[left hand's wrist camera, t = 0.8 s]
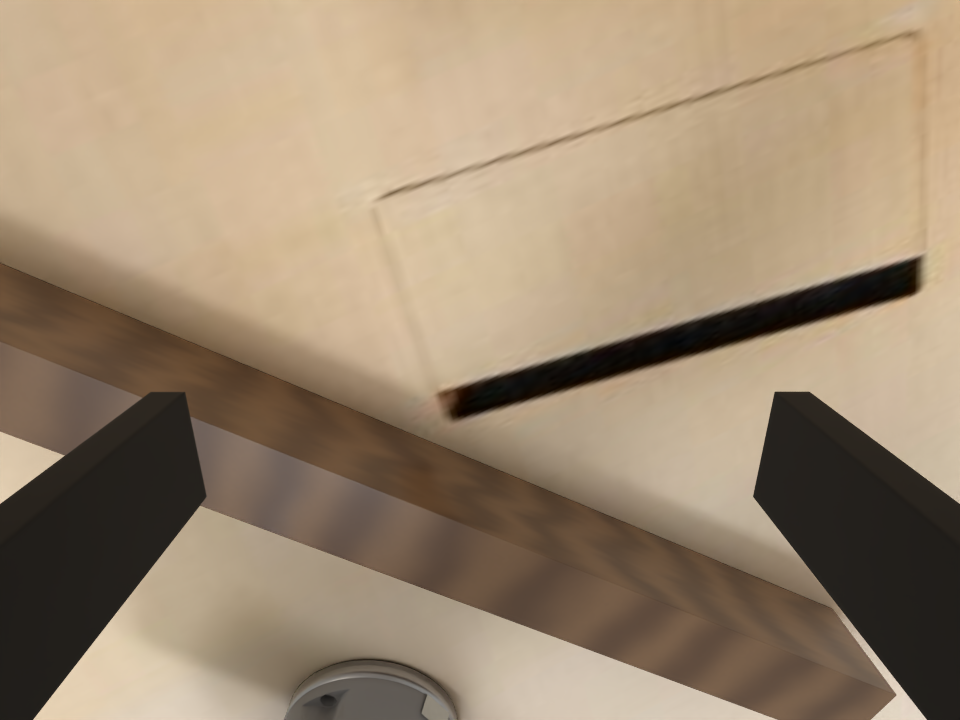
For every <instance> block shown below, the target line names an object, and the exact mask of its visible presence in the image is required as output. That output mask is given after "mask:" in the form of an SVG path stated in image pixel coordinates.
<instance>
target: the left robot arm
mask: <svg viewBox="0 0 960 720" xmlns="http://www.w3.org/2000/svg"><path fill="white" fill-rule="evenodd" d="M206 497H207V495H206V490H205V485H204V481H203V476H202V471H201V466H200V461H199V456H198V452H197V447H196V442H195V437H194V432H193V427H192V423H191V418H190V413H189V408H188V403H187V398H186V394H185V392H150V393H148V394H147V395H146V396H144V397H143V398H142V399H140V400H139V401H138V402H136V403H135V404H134V405H132V406H131V407H130V408H128V409H127V410H126V411H124V412H123V413H122V414H120V415H119V416H118V417H116V418H115V419H114V420H112V421H111V422H110V423H108V424H107V425H106V426H104V427H103V428H102V429H100V430H99V431H98V432H96V433H95V434H94V435H92V436H91V437H89V438H88V439H87V440H85V441H84V442H83V443H81V444H80V445H79V446H77V447H76V448H75V449H73V450H72V451H71V452H69V453H68V454H67V455H65V456H64V457H63V458H61V459H60V460H59V461H57V462H56V463H55V464H53V465H52V466H51V467H49V468H48V469H47V470H45V471H44V472H43V473H41V474H40V475H39V476H37V477H36V478H35V479H33V480H32V481H31V482H29V483H28V484H26V485H25V486H24V487H22V488H21V489H20V490H18V491H17V492H16V493H14V494H13V495H12V496H10V497H9V498H8V499H6V500H5V501H4V502H2V503H1V504H0V720H33V719H34V718H35V716H36V715H37V714H38V713H39V711H40V710H41V709H42V707H43V706H44V705H45V704H46V702H47V701H48V700H49V698H50V697H51V696H52V695H53V693H54V692H55V691H56V690H57V688H58V687H59V686H60V684H61V683H62V682H63V681H64V679H65V678H66V677H67V675H68V674H69V673H70V672H71V670H72V669H73V668H74V666H75V665H76V664H77V663H78V661H79V660H80V659H81V657H82V656H83V655H84V654H85V652H86V651H87V650H88V648H89V647H90V646H91V645H92V643H93V642H94V641H95V639H96V638H97V637H98V636H99V634H100V633H101V632H102V630H103V629H104V628H105V627H106V625H107V624H108V623H109V622H110V620H111V619H112V618H113V616H114V615H115V614H116V613H117V611H118V610H119V609H120V607H121V606H122V605H123V604H124V602H125V601H126V600H127V598H128V597H129V596H130V595H131V593H132V592H133V591H134V589H135V588H136V587H137V586H138V584H139V583H140V582H141V580H142V579H143V578H144V577H145V575H146V574H147V573H148V571H149V570H150V569H151V568H152V566H153V565H154V564H155V562H156V561H157V560H158V559H159V557H160V556H161V555H162V554H163V552H164V551H165V550H166V548H167V547H168V546H169V545H170V543H171V542H172V541H173V539H174V538H175V537H176V536H177V534H178V533H179V532H180V530H181V529H182V528H183V527H184V525H185V524H186V523H187V521H188V520H189V519H190V518H191V516H192V515H193V514H194V512H195V511H196V510H197V509H198V507H199V506H200V505H201V503H202V502H203V501H204V500H205V498H206ZM753 497H754V498H755V500H756V501H757V502H758V503H759V505H760V506H761V507H762V509H763V510H764V511H765V512H766V514H767V515H768V516H769V518H770V519H771V520H772V521H773V523H774V524H775V525H776V527H777V528H778V529H779V530H780V532H781V533H782V534H783V536H784V537H785V538H786V539H787V541H788V542H789V543H790V545H791V546H792V547H793V548H794V550H795V551H796V552H797V554H798V555H799V556H800V557H801V559H802V560H803V561H804V562H805V564H806V565H807V566H808V568H809V569H810V570H811V571H812V573H813V574H814V575H815V577H816V578H817V579H818V580H819V582H820V583H821V584H822V586H823V587H824V588H825V589H826V591H827V592H828V593H829V595H830V596H831V597H832V598H833V600H834V601H835V602H836V604H837V605H838V606H839V607H840V609H841V610H842V611H843V613H844V614H845V615H846V616H847V618H848V619H849V620H850V622H851V623H852V624H853V625H854V627H855V628H856V629H857V630H858V632H859V633H860V634H861V636H862V637H863V638H864V639H865V641H866V642H867V643H868V645H869V646H870V647H871V648H872V650H873V651H874V652H875V654H876V655H877V656H878V657H879V659H880V660H881V661H882V663H883V664H884V665H885V666H886V668H887V669H888V670H889V672H890V673H891V674H892V675H893V677H894V678H895V679H896V681H897V682H898V683H899V684H900V686H901V687H902V688H903V690H904V691H905V692H906V693H907V695H908V696H909V697H910V698H911V700H912V701H913V702H914V704H915V705H916V706H917V707H918V709H919V710H920V711H921V713H922V714H923V715H924V716H925V718H926V719H927V720H960V504H959V503H958V502H956V501H955V500H954V499H952V498H951V497H950V496H948V495H947V494H946V493H944V492H943V491H942V490H940V489H939V488H938V487H936V486H935V485H934V484H932V483H931V482H929V481H928V480H927V479H925V478H924V477H923V476H921V475H920V474H919V473H917V472H916V471H915V470H913V469H912V468H911V467H909V466H908V465H907V464H905V463H904V462H903V461H901V460H900V459H899V458H897V457H896V456H895V455H893V454H892V453H891V452H889V451H888V450H887V449H885V448H884V447H883V446H881V445H880V444H879V443H877V442H876V441H875V440H873V439H872V438H871V437H869V436H868V435H866V434H865V433H864V432H862V431H861V430H860V429H858V428H857V427H856V426H854V425H853V424H852V423H850V422H849V421H848V420H846V419H845V418H844V417H842V416H841V415H840V414H838V413H837V412H836V411H834V410H833V409H832V408H830V407H829V406H828V405H826V404H825V403H824V402H822V401H821V400H820V399H818V398H817V397H816V396H814V395H813V394H812V393H810V392H775V394H774V398H773V403H772V408H771V413H770V418H769V423H768V427H767V432H766V437H765V442H764V447H763V452H762V456H761V461H760V466H759V471H758V476H757V481H756V485H755V490H754V495H753ZM284 720H457V714H456V710H455V707H454V705H453V703H452V701H451V700H450V698H449V696H448V695H447V694H446V693H445V691H444V690H443V689H442V688H441V687H440V686H439V685H438V684H436V683H435V682H434V681H433V680H431V679H430V678H428V677H427V676H425V675H423V674H421V673H420V672H417V671H415V670H413V669H411V668H408V667H405V666H402V665H399V664H395V663H390V662H384V661H375V660H358V661H349V662H343V663H339V664H335V665H332V666H329V667H327V668H324V669H322V670H320V671H318V672H316V673H314V674H313V675H311V676H310V677H309V678H307V679H306V680H305V681H304V682H303V683H302V684H301V685H300V686H299V687H298V689H297V690H296V691H295V693H294V695H293V697H292V699H291V702H290V705H289V707H288V710H287V713H286V716H285V719H284Z"/></svg>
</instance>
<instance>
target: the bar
mask: <svg viewBox="0 0 960 720" xmlns="http://www.w3.org/2000/svg"><path fill="white" fill-rule="evenodd" d="M150 392H185V394H186V398H187V403H188V408H189V413H190V418H191V423H192V427H193V432H194V437H195V442H196V447H197V452H198V456H199V461H200V466H201V471H202V476H203V481H204V485H205V490H206V495H207V497H206V498H205V500H204V501H203V502H202V503H201V505H200V506H203V507H205V508H208V509H211V510H214V511H216V512H219V513H222V514H224V515H227V516H230V517H232V518H235V519H238V520H241V521H243V522H246V523H249V524H251V525H254V526H257V527H259V528H262V529H265V530H268V531H270V532H273V533H276V534H278V535H281V536H284V537H286V538H289V539H292V540H295V541H297V542H300V543H303V544H305V545H308V546H311V547H313V548H316V549H319V550H321V551H324V552H327V553H330V554H332V555H335V556H338V557H340V558H343V559H346V560H348V561H351V562H354V563H357V564H359V565H362V566H365V567H367V568H370V569H373V570H375V571H378V572H381V573H384V574H386V575H389V576H392V577H394V578H397V579H400V580H402V581H405V582H408V583H410V584H413V585H416V586H419V587H421V588H424V589H427V590H429V591H432V592H435V593H437V594H440V595H443V596H446V597H448V598H451V599H454V600H456V601H459V602H462V603H464V604H467V605H470V606H473V607H475V608H478V609H481V610H483V611H486V612H489V613H491V614H494V615H497V616H500V617H502V618H505V619H508V620H510V621H513V622H516V623H518V624H521V625H524V626H526V627H529V628H532V629H535V630H537V631H540V632H543V633H545V634H548V635H551V636H553V637H556V638H559V639H562V640H564V641H567V642H570V643H572V644H575V645H578V646H580V647H583V648H586V649H589V650H591V651H594V652H597V653H599V654H602V655H605V656H607V657H610V658H613V659H616V660H618V661H621V662H624V663H626V664H629V665H632V666H634V667H637V668H640V669H642V670H645V671H648V672H651V673H653V674H656V675H659V676H661V677H664V678H667V679H669V680H672V681H675V682H678V683H680V684H683V685H686V686H688V687H691V688H694V689H696V690H699V691H702V692H705V693H707V694H710V695H713V696H715V697H718V698H721V699H723V700H726V701H729V702H731V703H734V704H737V705H740V706H742V707H745V708H748V709H750V710H753V711H756V712H758V713H761V714H764V715H767V716H769V717H772V718H775V719H777V720H871V719H872V718H873V717H874V716H875V715H876V714H877V713H878V712H879V711H880V710H881V709H882V708H884V707H885V706H886V705H887V704H888V703H889V702H890V701H891V700H892V699H893V698H894V697H895V696H896V694H895V692H894V691H893V690H892V688H891V687H890V686H889V684H888V683H887V681H886V680H885V679H884V677H883V676H882V675H881V673H880V672H879V671H878V669H877V668H876V667H875V665H874V664H873V663H872V661H871V660H870V659H869V657H868V656H867V655H866V653H865V652H864V651H863V649H862V648H861V647H860V645H859V644H858V643H857V641H856V640H855V638H854V637H853V636H852V634H851V633H850V632H849V630H848V629H847V628H846V626H845V625H844V624H843V622H842V621H841V620H840V618H839V617H838V616H837V614H836V613H835V612H834V610H833V609H831V608H829V607H827V606H824V605H822V604H819V603H817V602H815V601H812V600H810V599H807V598H805V597H803V596H800V595H798V594H795V593H793V592H791V591H788V590H786V589H783V588H781V587H778V586H776V585H774V584H771V583H769V582H766V581H764V580H762V579H759V578H757V577H754V576H752V575H750V574H747V573H745V572H742V571H740V570H738V569H735V568H733V567H730V566H728V565H726V564H723V563H721V562H718V561H716V560H713V559H711V558H709V557H706V556H704V555H701V554H699V553H697V552H694V551H692V550H689V549H687V548H685V547H682V546H680V545H677V544H675V543H673V542H670V541H668V540H665V539H663V538H661V537H658V536H656V535H653V534H651V533H648V532H646V531H644V530H641V529H639V528H636V527H634V526H632V525H629V524H627V523H624V522H622V521H620V520H617V519H615V518H612V517H610V516H608V515H605V514H603V513H600V512H598V511H595V510H593V509H591V508H588V507H586V506H583V505H581V504H579V503H576V502H574V501H571V500H569V499H567V498H564V497H562V496H559V495H557V494H555V493H552V492H550V491H547V490H545V489H543V488H540V487H538V486H535V485H533V484H530V483H528V482H526V481H523V480H521V479H518V478H516V477H514V476H511V475H509V474H506V473H504V472H502V471H499V470H497V469H494V468H492V467H490V466H487V465H485V464H482V463H480V462H478V461H475V460H473V459H470V458H468V457H465V456H463V455H461V454H458V453H456V452H453V451H451V450H449V449H446V448H444V447H441V446H439V445H437V444H434V443H432V442H429V441H427V440H425V439H422V438H420V437H417V436H415V435H413V434H410V433H408V432H405V431H403V430H400V429H398V428H396V427H393V426H391V425H388V424H386V423H384V422H381V421H379V420H376V419H374V418H372V417H369V416H367V415H364V414H362V413H360V412H357V411H355V410H352V409H350V408H347V407H345V406H343V405H340V404H338V403H335V402H333V401H331V400H328V399H326V398H323V397H321V396H319V395H316V394H314V393H311V392H309V391H307V390H304V389H302V388H299V387H297V386H295V385H292V384H290V383H287V382H285V381H282V380H280V379H278V378H275V377H273V376H270V375H268V374H266V373H263V372H261V371H258V370H256V369H254V368H251V367H249V366H246V365H244V364H242V363H239V362H237V361H234V360H232V359H230V358H227V357H225V356H222V355H220V354H217V353H215V352H213V351H210V350H208V349H205V348H203V347H201V346H198V345H196V344H193V343H191V342H189V341H186V340H184V339H181V338H179V337H177V336H174V335H172V334H169V333H167V332H165V331H162V330H160V329H157V328H155V327H152V326H150V325H148V324H145V323H143V322H140V321H138V320H136V319H133V318H131V317H128V316H126V315H124V314H121V313H119V312H116V311H114V310H112V309H109V308H107V307H104V306H102V305H99V304H97V303H95V302H92V301H90V300H87V299H85V298H83V297H80V296H78V295H75V294H73V293H71V292H68V291H66V290H63V289H61V288H59V287H56V286H54V285H51V284H49V283H47V282H44V281H42V280H39V279H37V278H34V277H32V276H30V275H27V274H25V273H22V272H20V271H18V270H15V269H13V268H10V267H8V266H6V265H3V264H1V263H0V432H3V433H6V434H9V435H11V436H14V437H17V438H19V439H22V440H25V441H27V442H30V443H33V444H36V445H38V446H41V447H44V448H46V449H49V450H52V451H54V452H57V453H60V454H63V455H67V454H68V453H69V452H71V451H72V450H73V449H75V448H76V447H77V446H79V445H80V444H81V443H83V442H84V441H85V440H87V439H88V438H89V437H91V436H92V435H94V434H95V433H96V432H98V431H99V430H100V429H102V428H103V427H104V426H106V425H107V424H108V423H110V422H111V421H112V420H114V419H115V418H116V417H118V416H119V415H120V414H122V413H123V412H124V411H126V410H127V409H128V408H130V407H131V406H132V405H134V404H135V403H136V402H138V401H139V400H140V399H142V398H143V397H144V396H146V395H147V394H148V393H150Z"/></svg>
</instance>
